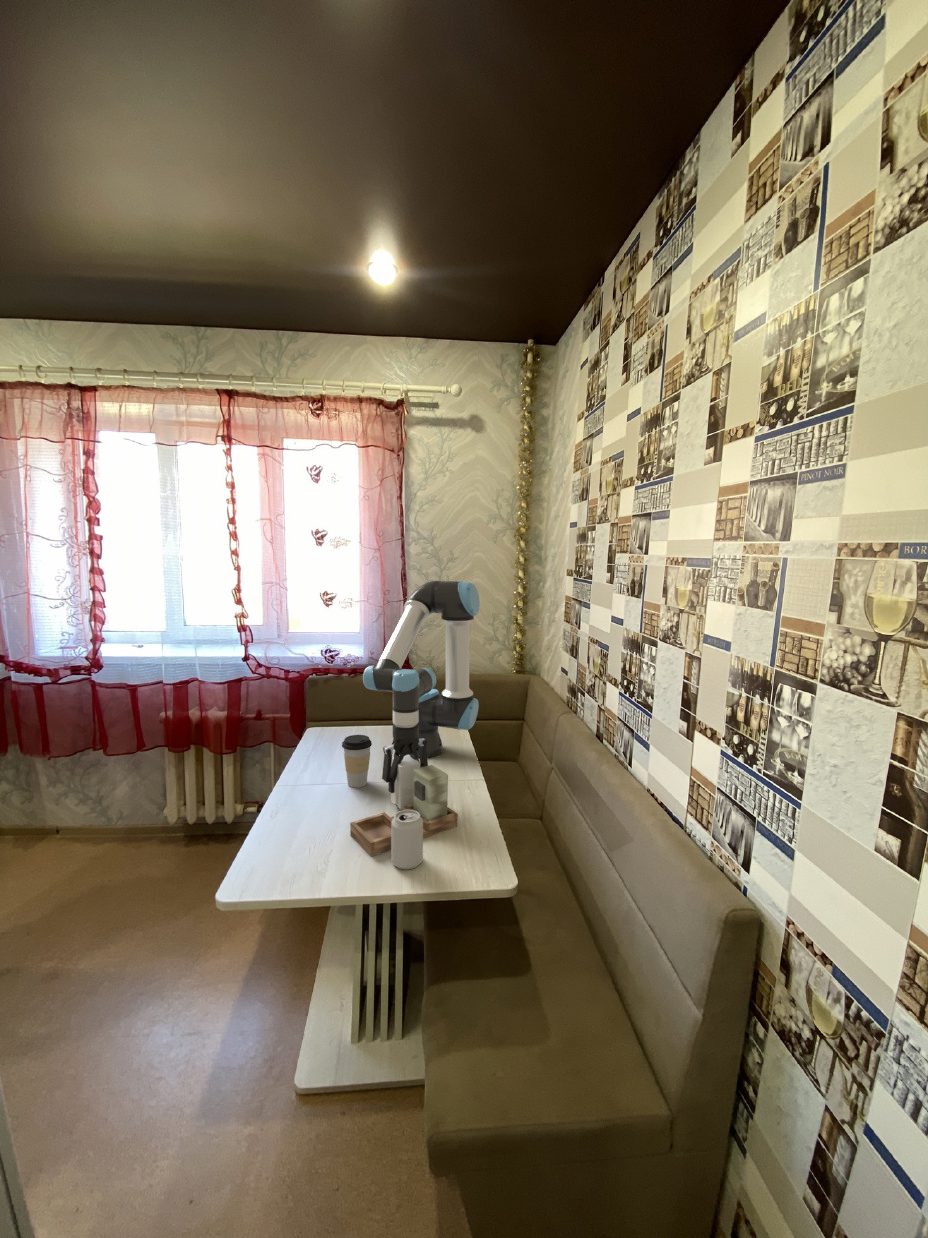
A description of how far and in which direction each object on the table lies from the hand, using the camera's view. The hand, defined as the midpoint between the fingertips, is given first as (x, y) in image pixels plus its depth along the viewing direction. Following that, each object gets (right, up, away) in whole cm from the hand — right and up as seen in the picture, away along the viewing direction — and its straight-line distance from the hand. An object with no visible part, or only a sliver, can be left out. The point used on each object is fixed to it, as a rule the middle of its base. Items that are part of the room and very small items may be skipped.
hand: (405, 798), depth 154 cm
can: (+3, -6, -28) cm, 29 cm away
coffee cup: (-17, 0, +14) cm, 22 cm away
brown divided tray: (+1, -4, -14) cm, 14 cm away
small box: (0, -1, 0) cm, 1 cm away
